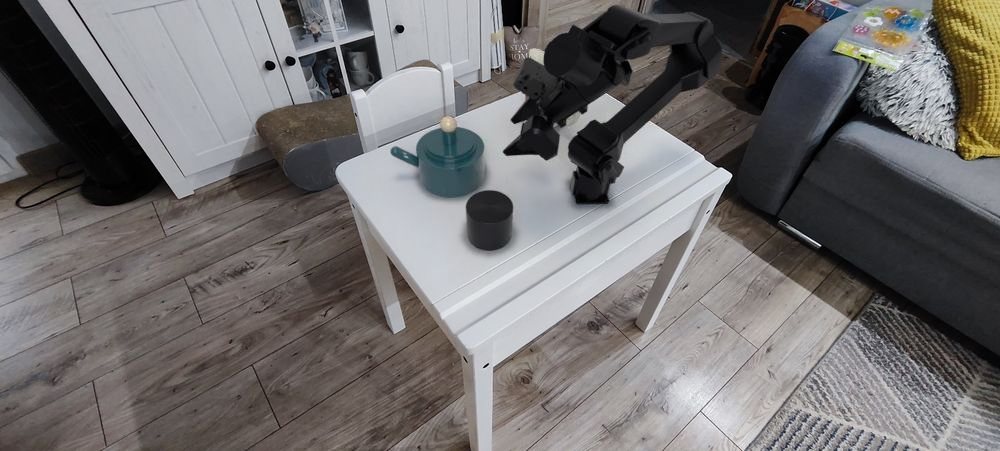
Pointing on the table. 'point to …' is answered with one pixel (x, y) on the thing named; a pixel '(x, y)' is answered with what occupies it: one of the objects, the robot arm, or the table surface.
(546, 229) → the table surface
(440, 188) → the teapot
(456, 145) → the teapot lid
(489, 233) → the tea tin
